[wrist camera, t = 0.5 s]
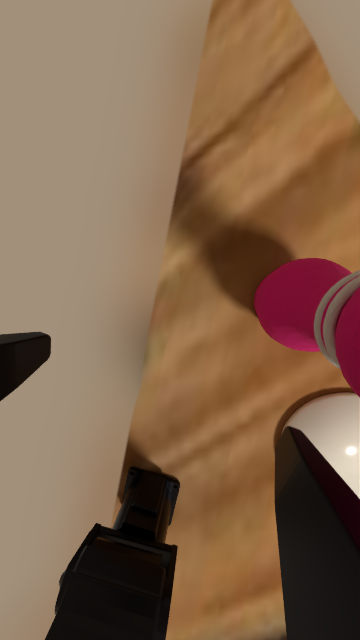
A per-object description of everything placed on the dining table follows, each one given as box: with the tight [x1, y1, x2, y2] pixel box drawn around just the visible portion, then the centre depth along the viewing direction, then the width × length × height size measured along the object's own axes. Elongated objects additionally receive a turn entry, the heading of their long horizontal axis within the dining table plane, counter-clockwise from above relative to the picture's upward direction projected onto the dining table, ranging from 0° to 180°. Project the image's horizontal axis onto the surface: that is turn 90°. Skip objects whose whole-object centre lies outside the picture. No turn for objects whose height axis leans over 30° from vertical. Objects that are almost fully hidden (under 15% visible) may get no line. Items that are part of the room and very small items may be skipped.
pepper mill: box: [254, 258, 360, 397], centre depth 13 cm, size 7×7×20 cm
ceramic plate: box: [280, 392, 360, 499], centre depth 24 cm, size 13×13×1 cm
